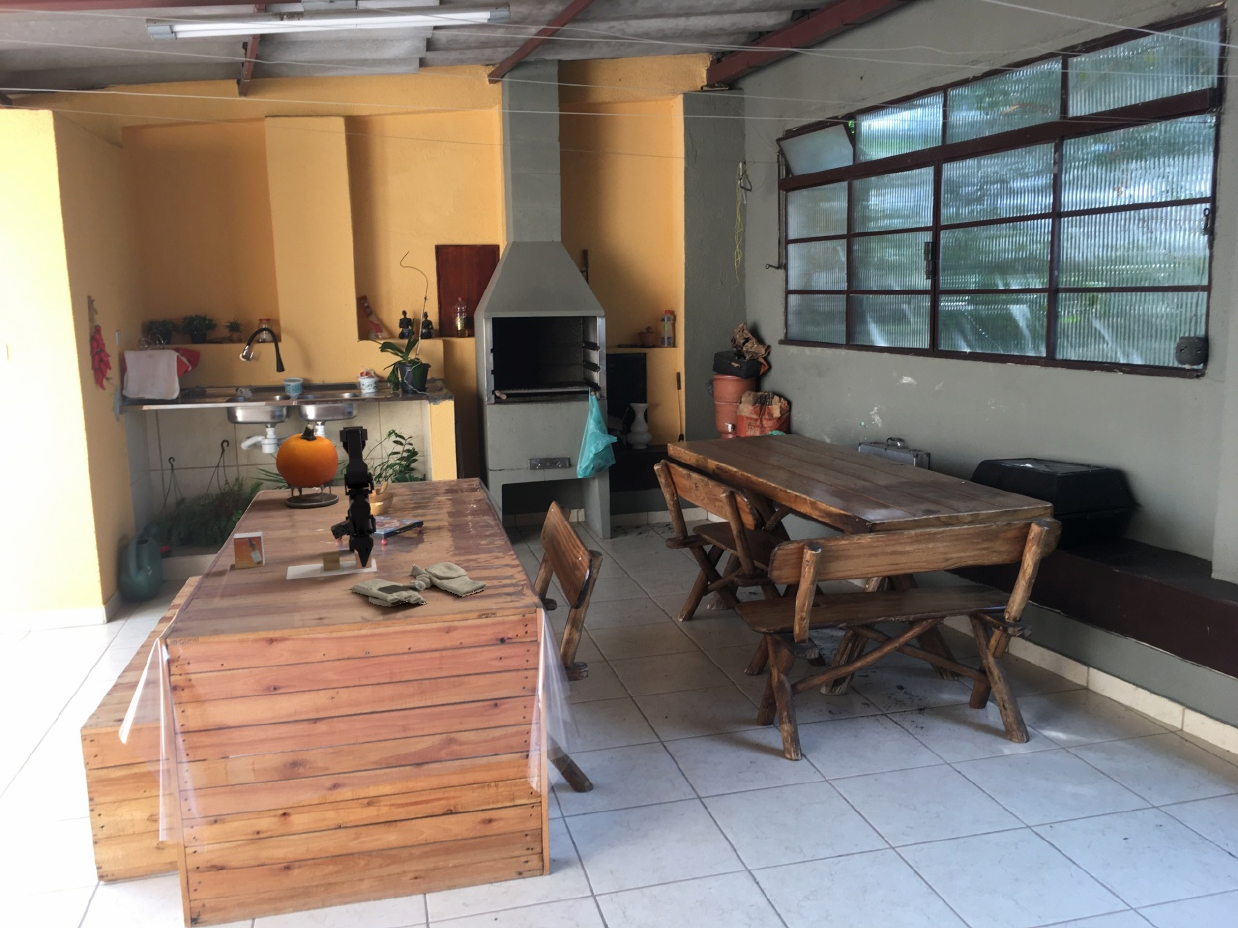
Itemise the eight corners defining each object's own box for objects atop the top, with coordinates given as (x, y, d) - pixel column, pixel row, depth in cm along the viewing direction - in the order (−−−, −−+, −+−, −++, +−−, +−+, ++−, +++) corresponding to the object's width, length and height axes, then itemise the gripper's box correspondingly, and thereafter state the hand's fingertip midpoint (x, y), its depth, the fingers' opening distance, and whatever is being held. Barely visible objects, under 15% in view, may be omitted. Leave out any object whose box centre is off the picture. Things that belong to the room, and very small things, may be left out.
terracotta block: (355, 564, 303) (354, 549, 302) (371, 563, 304) (370, 548, 304) (356, 568, 299) (354, 553, 298) (371, 567, 300) (370, 552, 299)
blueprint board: (375, 562, 309) (375, 558, 309) (377, 575, 297) (376, 570, 296) (288, 570, 303) (288, 565, 302) (286, 583, 290) (286, 578, 290)
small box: (235, 572, 302) (232, 538, 299) (237, 567, 307) (234, 533, 305) (264, 570, 304) (261, 535, 302) (265, 564, 309) (262, 530, 307)
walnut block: (324, 566, 301) (323, 551, 300) (340, 565, 302) (338, 550, 301) (323, 570, 297) (322, 555, 296) (340, 569, 298) (338, 554, 297)
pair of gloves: (388, 616, 263) (387, 596, 262) (349, 591, 283) (348, 573, 282) (491, 592, 281) (490, 574, 280) (448, 571, 301) (447, 553, 300)
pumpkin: (274, 500, 393) (268, 423, 388) (333, 493, 404) (328, 417, 398) (285, 512, 374) (278, 431, 368) (347, 504, 385) (341, 425, 379)
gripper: (331, 506, 305) (335, 556, 308) (331, 521, 288) (335, 574, 291) (369, 503, 308) (373, 553, 311) (372, 517, 291) (375, 570, 294)
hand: (363, 562), depth 302 cm, fingers open, 8 cm apart
